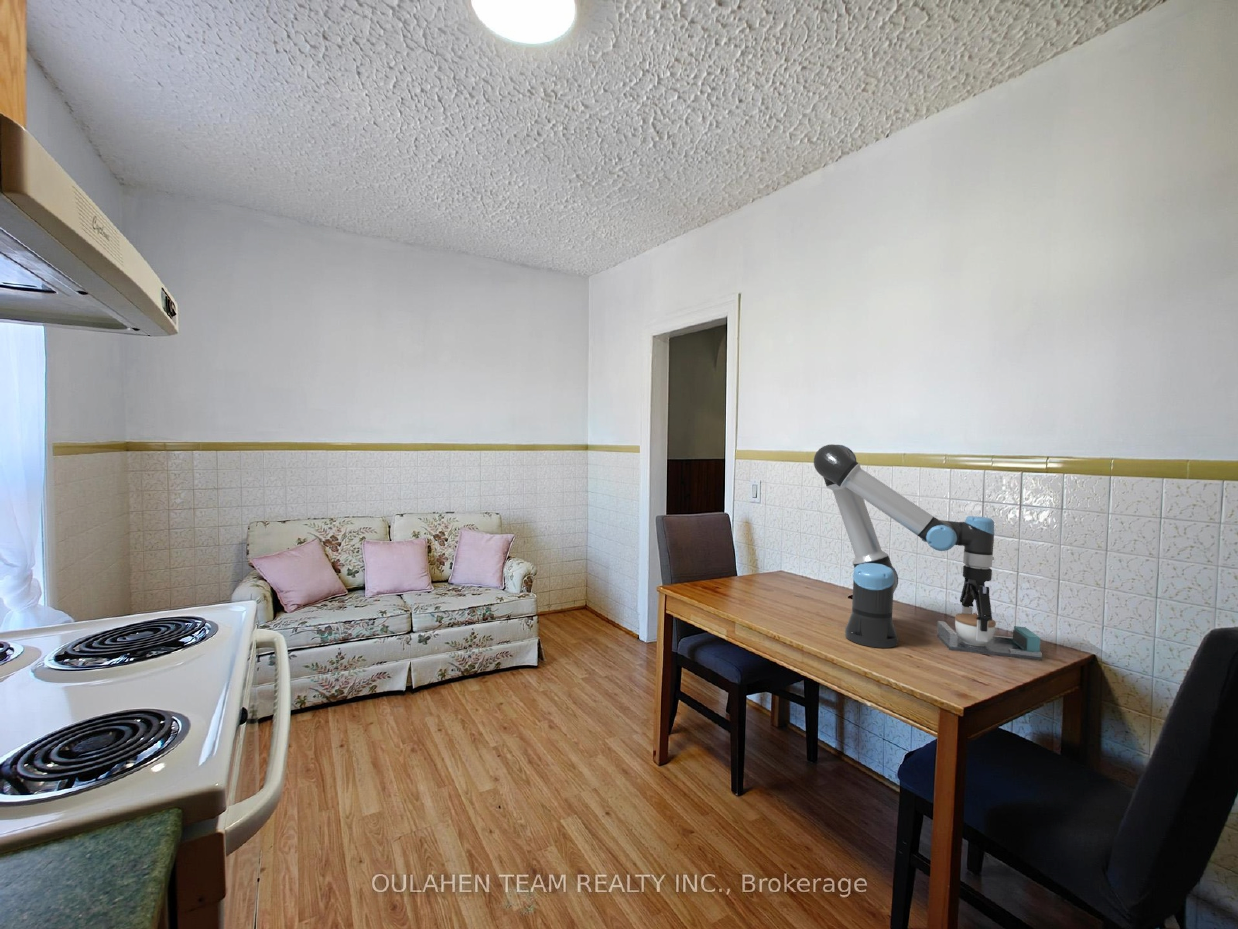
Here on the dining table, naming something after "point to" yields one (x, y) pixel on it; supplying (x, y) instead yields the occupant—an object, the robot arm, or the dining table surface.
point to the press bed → (994, 647)
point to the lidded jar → (972, 629)
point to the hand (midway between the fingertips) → (973, 633)
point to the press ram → (1026, 639)
